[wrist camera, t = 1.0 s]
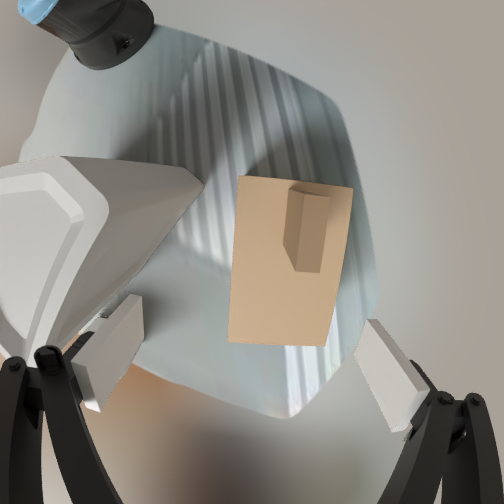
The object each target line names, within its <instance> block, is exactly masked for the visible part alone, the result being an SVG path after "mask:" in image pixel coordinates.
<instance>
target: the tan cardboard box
mask: <svg viewBox="0 0 504 504" xmlns="http://www.w3.org/2000/svg"><path fill="white" fill-rule="evenodd" d="M353 189H354V188H348V187H341V186H334V185H327V184H320V183H312V182H304V181H296V180H287V179H277V178H267V177H255V176H243V175H239V179H238V192H237V204H236V218H235V231H234V246H233V260H232V276H231V292H230V309H229V327H228V342H238V343H252V344H269V345H294V346H325V344H326V340H327V336H328V332H329V328H330V324H331V319H332V315H333V311H334V306H335V301H336V297H337V292H338V287H339V282H340V276H341V271H342V266H343V260H344V254H345V248H346V242H347V235H348V229H349V222H350V214H351V206H352V198H353Z"/></svg>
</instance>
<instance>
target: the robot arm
mask: <svg viewBox="0 0 504 504" xmlns="http://www.w3.org/2000/svg"><path fill="white" fill-rule="evenodd" d="M18 12H19V14H20V15H21V16H23V17H24V18H25V19H27V20H28V21H29V22H30V23H31V24H33V25H37V26H39V27H40V28H42V29H44V30H46V31H48V32H49V33H51V34H53V35H55V36H57V37H58V38H60V39H62V40H63V41H65V42H67V43H68V44H69V46H70V48H71V49H72V51H73V52H74V55H75V57H76V59H77V60H78V61H79V62H80V63H81V64H83V65H84V66H86V67H88V68H90V69H94V70H103V69H108V68H111V67H114V66H116V65H118V64H120V63H122V62H124V61H125V60H127V59H128V58H130V57H131V56H132V55H134V54H135V53H136V52H137V51H138V50H139V49H140V48H141V47H142V46H143V45H144V43H145V42H146V40H147V39H148V37H149V36H150V34H151V31H152V29H153V25H154V16H153V13H152V11H151V10H150V8H149V7H148V5H147V4H146V3H145V2H143V1H142V0H19V1H18ZM143 338H144V325H143V309H142V296H138V295H133V294H130V295H129V296H128V297H127V298H126V299H125V300H124V301H123V302H122V303H121V304H120V305H119V306H118V307H117V309H116V310H115V311H114V312H113V313H112V314H111V315H110V316H109V317H108V318H107V320H106V321H105V322H104V323H103V324H102V325H101V326H100V327H99V329H98V330H97V331H96V332H92V331H87V332H86V333H84V334H82V335H80V337H79V338H78V339H77V340H76V342H74V343H73V344H72V346H70V348H69V349H68V350H67V351H66V352H65V353H64V354H63V355H62V353H61V350H60V349H59V348H58V347H56V346H53V345H45V346H42V347H40V348H38V349H37V350H36V351H35V352H34V359H35V362H36V365H37V368H35V367H28V366H27V364H26V361H25V360H24V359H23V358H22V357H19V356H12V357H10V358H8V359H6V360H5V361H4V363H3V365H2V368H1V371H0V504H44V502H43V492H42V475H41V440H42V423H43V412H44V411H45V414H46V419H47V424H48V429H49V433H50V437H51V441H52V445H53V448H54V452H55V456H56V459H57V462H58V465H59V469H60V472H61V474H62V477H63V480H64V483H65V485H66V488H67V491H68V493H69V496H70V498H71V501H72V503H73V504H123V502H122V500H121V498H120V497H119V495H118V493H117V491H116V489H115V488H114V486H113V484H112V482H111V480H110V478H109V476H108V474H107V472H106V470H105V468H104V466H103V464H102V462H101V459H100V457H99V455H98V452H97V450H96V448H95V445H94V443H93V440H92V438H91V435H90V433H89V430H88V428H87V425H86V422H85V419H84V416H83V413H82V410H81V408H80V403H81V401H82V400H84V403H85V405H86V407H87V408H89V409H92V410H95V411H98V412H101V411H102V409H103V407H104V405H105V404H106V402H107V400H108V398H109V396H110V394H111V393H112V391H113V389H114V387H115V386H116V384H117V382H118V380H119V378H120V377H121V375H122V373H123V372H124V370H125V368H126V366H127V365H128V363H129V361H130V360H131V358H132V356H133V354H134V353H135V351H136V349H137V348H138V346H139V344H140V343H141V341H142V339H143ZM354 357H355V359H356V361H357V363H358V365H359V367H360V369H361V371H362V373H363V375H364V377H365V379H366V381H367V382H368V385H369V386H370V388H371V391H372V393H373V395H374V397H375V398H376V401H377V403H378V405H379V407H380V409H381V411H382V413H383V415H384V417H385V419H386V421H387V423H388V425H389V427H390V429H391V432H396V431H401V430H405V428H406V427H407V425H408V424H409V423H410V422H411V424H412V426H413V427H412V429H411V430H410V432H409V433H408V434H407V435H406V437H405V438H404V440H403V441H405V440H406V439H407V440H406V443H405V445H404V448H403V450H402V453H401V455H400V457H399V460H398V462H397V464H396V467H395V469H394V471H393V473H392V476H391V478H390V480H389V482H388V484H387V486H386V488H385V490H384V492H383V494H382V496H381V498H380V499H379V501H378V503H377V504H433V503H434V501H435V498H436V494H437V491H438V488H439V485H440V481H441V478H442V498H441V504H504V494H503V484H502V475H501V468H500V462H499V456H498V451H497V446H496V441H495V437H494V432H493V428H492V424H491V420H490V417H489V413H488V410H487V407H486V403H485V401H484V399H483V398H482V397H481V395H479V394H476V393H469V394H468V395H467V396H466V398H465V399H464V401H463V400H455V399H454V397H453V396H452V395H451V394H449V393H447V392H444V391H437V389H436V388H435V386H434V385H433V384H432V382H431V381H430V379H429V378H428V377H426V374H425V373H424V372H423V370H422V369H421V368H420V366H419V365H418V364H417V363H415V362H414V361H413V360H409V359H408V358H407V357H406V356H405V354H404V353H403V352H402V350H401V349H400V348H399V347H398V345H397V344H396V343H395V341H394V340H393V339H392V337H391V336H390V335H389V334H388V332H387V331H386V330H385V329H384V327H383V326H382V325H381V323H380V322H379V321H378V320H376V319H367V320H366V323H365V326H364V329H363V332H362V335H361V338H360V341H359V344H358V346H357V349H356V352H355V355H354ZM465 432H466V435H465V434H464V433H465Z"/></svg>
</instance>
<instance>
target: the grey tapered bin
mask: <svg viewBox="0 0 504 504" xmlns="http://www.w3.org/2000/svg"><path fill="white" fill-rule="evenodd" d="M203 189H204V185H203V183H202V182H201V181H200V180H199V179H197V178H196V177H195V176H194V175H193V174H191V173H190V172H189V171H188V170H187V169H185V168H183V167H177V166H170V165H162V164H153V163H145V162H135V161H125V160H114V159H101V158H87V157H68V156H52V157H46V158H40V159H35V160H30V161H25V162H20V163H16V164H12V165H7V166H3V167H0V352H1V354H2V355H3V356H4V357H5V358H6V359H8V358H10V357H12V356H19V357H22V358H23V359H24V360H25V361H26V364H27V366H28V367H35V368H37V365H36V362H35V359H34V352H35V351H36V350H37V349H38V348H40V347H42V346H45V345H53V346H56V347H58V348H59V349H60V350H62V349H63V348H64V347H65V345H66V344H67V343H68V342H69V341H70V340H71V339H72V338H73V337H74V336H75V335H76V334H77V333H78V332H79V331H80V330H81V329H82V328H83V327H84V326H85V325H86V324H87V323H88V322H89V321H90V320H91V319H92V318H93V317H94V316H95V315H96V314H97V313H98V312H99V311H100V310H101V309H102V308H103V307H104V306H105V305H106V304H107V303H108V302H109V301H110V300H111V299H112V298H113V297H114V296H115V295H116V294H117V293H118V292H119V291H120V290H121V289H122V288H124V287H125V286H126V285H127V284H128V283H129V282H130V281H131V280H132V279H133V278H134V277H135V276H136V275H137V274H138V273H139V272H140V270H141V269H142V268H143V266H144V265H145V264H146V262H147V261H148V259H149V258H150V257H151V255H152V254H153V253H154V251H155V250H156V249H157V247H158V246H159V245H160V243H161V242H162V241H163V239H164V238H165V237H166V236H167V234H168V233H169V232H170V230H171V229H172V228H173V227H174V225H175V224H176V223H177V221H178V220H179V219H180V218H181V216H182V215H183V214H184V213H185V211H186V210H187V209H188V208H189V207H190V205H191V204H192V203H193V202H194V200H195V199H196V198H197V197H198V196H199V194H200V193H201V192H202V191H203Z"/></svg>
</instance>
